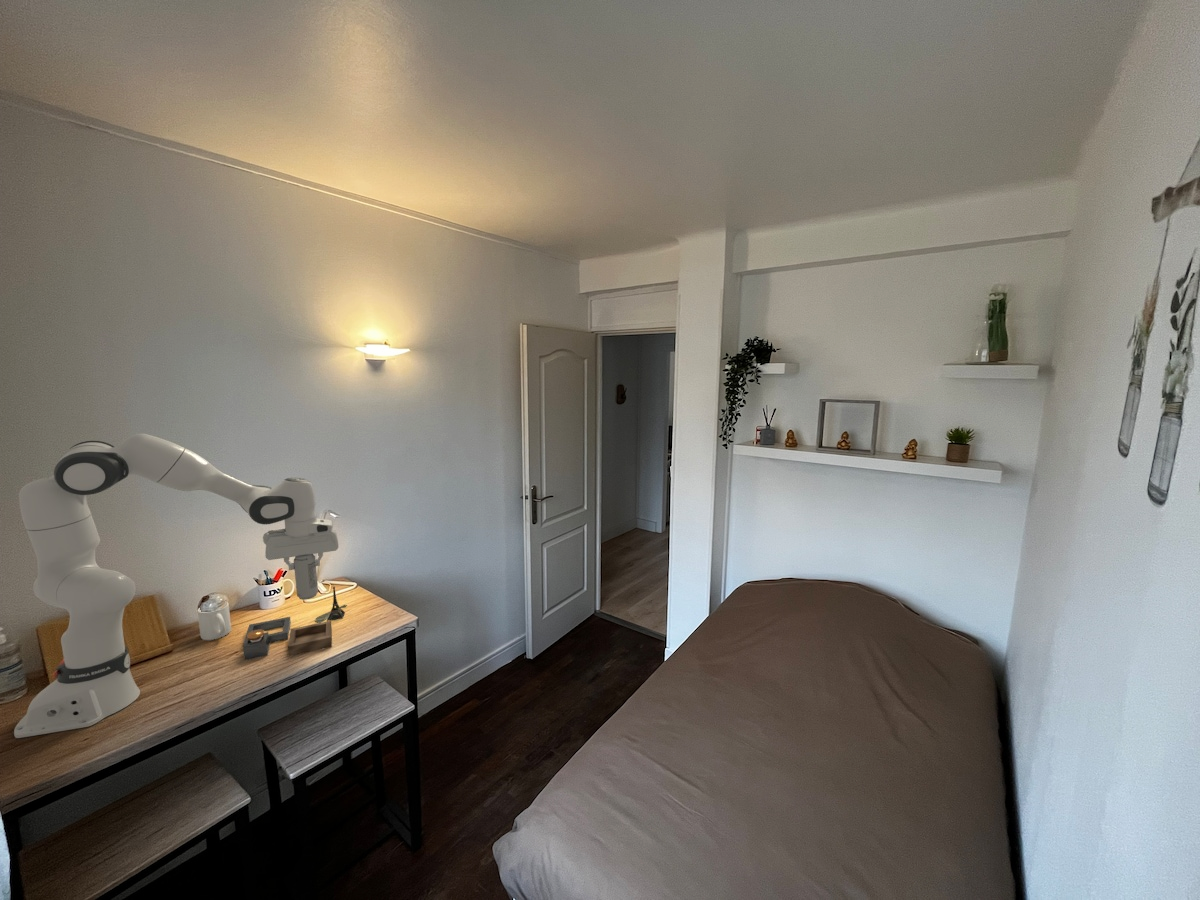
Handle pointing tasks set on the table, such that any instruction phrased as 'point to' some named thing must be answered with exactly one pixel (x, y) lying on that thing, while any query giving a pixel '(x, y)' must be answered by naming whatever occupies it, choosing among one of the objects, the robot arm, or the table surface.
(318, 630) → the brown wooden tray
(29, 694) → the table surface
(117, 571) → the robot arm
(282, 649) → the table surface
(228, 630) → the mug
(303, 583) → the energy drink can
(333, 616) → the eiffel tower figurine
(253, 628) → the socket block
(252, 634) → the release plunger
